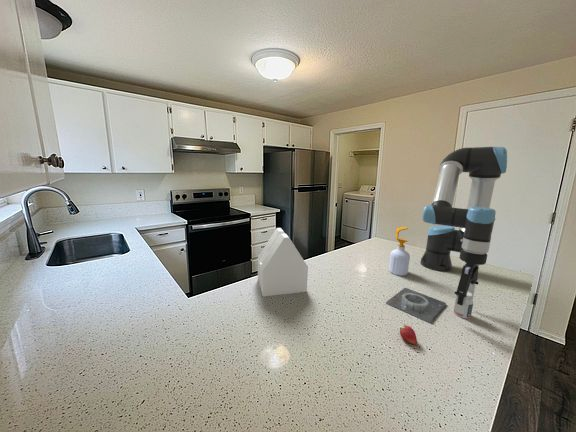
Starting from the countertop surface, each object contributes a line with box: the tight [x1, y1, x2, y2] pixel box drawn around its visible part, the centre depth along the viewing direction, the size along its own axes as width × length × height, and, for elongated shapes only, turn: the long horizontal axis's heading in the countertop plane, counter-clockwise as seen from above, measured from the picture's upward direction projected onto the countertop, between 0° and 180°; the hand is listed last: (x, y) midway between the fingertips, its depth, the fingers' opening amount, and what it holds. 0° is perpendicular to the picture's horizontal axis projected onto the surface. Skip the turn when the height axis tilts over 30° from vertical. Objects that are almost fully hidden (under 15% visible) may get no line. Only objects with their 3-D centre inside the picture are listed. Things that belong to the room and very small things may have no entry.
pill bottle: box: [453, 292, 474, 319], centre depth 87 cm, size 5×5×9 cm
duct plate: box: [385, 287, 447, 324], centre depth 94 cm, size 18×16×3 cm
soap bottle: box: [388, 226, 411, 277], centre depth 121 cm, size 9×9×25 cm
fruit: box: [399, 322, 419, 346], centre depth 73 cm, size 4×6×5 cm
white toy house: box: [257, 227, 309, 297], centre depth 104 cm, size 19×15×25 cm
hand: (463, 305), depth 87 cm, fingers open, 13 cm apart
